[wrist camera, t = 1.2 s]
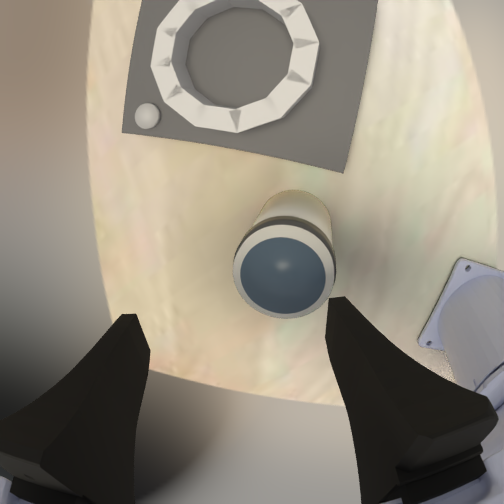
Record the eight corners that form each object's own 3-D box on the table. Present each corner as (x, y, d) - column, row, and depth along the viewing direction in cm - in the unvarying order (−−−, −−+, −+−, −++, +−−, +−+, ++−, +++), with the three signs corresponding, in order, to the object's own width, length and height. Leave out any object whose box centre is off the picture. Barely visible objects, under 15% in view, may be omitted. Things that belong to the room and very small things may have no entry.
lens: (341, 199, 20) (350, 243, 14) (321, 267, 22) (319, 331, 16) (264, 180, 21) (238, 216, 14) (251, 249, 23) (223, 307, 16)
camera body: (373, 6, 14) (384, -16, 11) (341, 167, 19) (346, 181, 16) (161, -15, 16) (132, -32, 12) (137, 129, 21) (103, 136, 17)
